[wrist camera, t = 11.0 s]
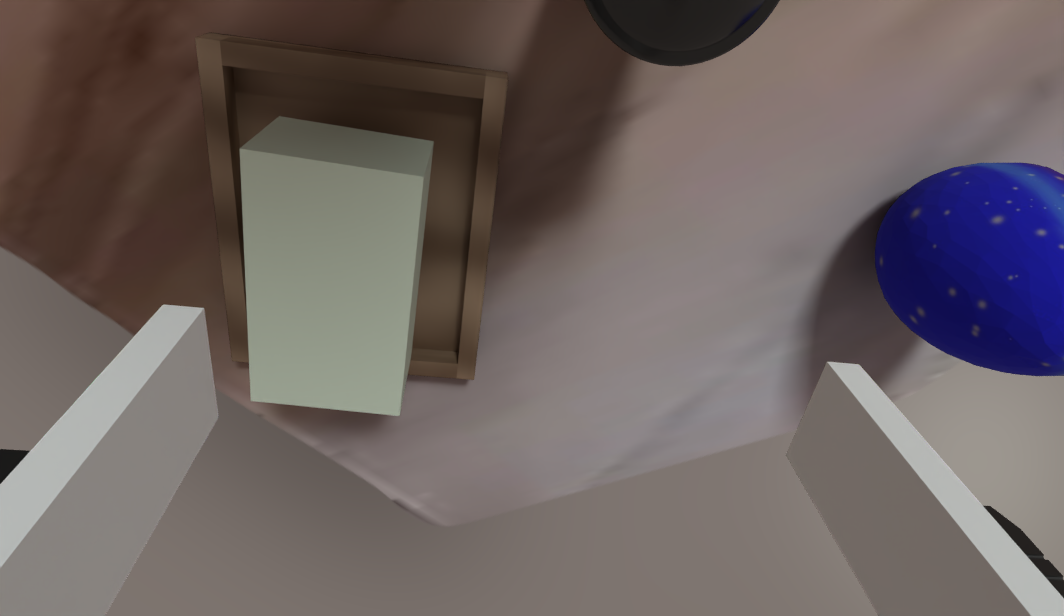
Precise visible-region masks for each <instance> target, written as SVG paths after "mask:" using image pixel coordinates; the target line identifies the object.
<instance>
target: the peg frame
mask: <svg viewBox="0 0 1064 616" xmlns="http://www.w3.org/2000/svg"><path fill="white" fill-rule="evenodd" d="M195 42H196V50H197V59H198V68H199V77H200V85H201V94H202V103H203V112H204V120H205V129H206V138H207V147H208V155H209V164H210V173H211V182H212V190H213V199H214V208H215V217H216V225H217V234H218V243H219V252H220V261H221V269H222V278H223V287H224V296H225V304H226V313H227V322H228V331H229V339H230V348H231V357H232V361H236V362H249V350H248V327H247V305H246V282H245V260H244V237H243V215H242V192H241V170H240V148H241V147H242V146H243V145H244V144H246V143H247V142H248V141H249V140H251V139H252V138H253V137H254V136H255V135H257V134H258V133H259V132H260V131H262V130H263V129H264V128H265V127H266V126H268V125H269V124H270V123H271V122H273V121H274V120H275V119H276V118H277V117H279V116H281V117H288V118H294V119H300V120H306V121H312V122H318V123H324V124H331V125H337V126H343V127H349V128H355V129H361V130H368V131H374V132H380V133H386V134H392V135H398V136H405V137H411V138H417V139H423V140H429V141H434V144H433V154H432V163H431V173H430V182H429V192H428V201H427V211H426V220H425V230H424V239H423V249H422V258H421V268H420V277H419V287H418V296H417V306H416V315H415V325H414V334H413V344H412V353H411V360H410V365H409V370H408V375H418V376H431V377H444V378H457V379H470V380H474V375H475V366H476V357H477V349H478V340H479V331H480V322H481V313H482V305H483V296H484V287H485V278H486V269H487V261H488V252H489V243H490V234H491V225H492V216H493V208H494V199H495V190H496V181H497V172H498V164H499V155H500V146H501V137H502V128H503V120H504V111H505V102H506V93H507V84H508V75H507V72H500V71H492V70H485V69H477V68H470V67H463V66H455V65H448V64H440V63H433V62H425V61H418V60H410V59H403V58H396V57H388V56H381V55H373V54H366V53H358V52H351V51H343V50H336V49H329V48H321V47H314V46H306V45H299V44H291V43H284V42H277V41H269V40H262V39H254V38H247V37H239V36H232V35H224V34H217V33H207V34H204V35H201V36H198V37H195Z"/></svg>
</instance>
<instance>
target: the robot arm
mask: <svg viewBox="0 0 1064 616" xmlns="http://www.w3.org/2000/svg"><path fill="white" fill-rule="evenodd" d="M218 417H219V416H218V408H217V401H216V393H215V386H214V378H213V371H212V363H211V356H210V348H209V341H208V333H207V326H206V318H205V311H204V308H198V307H186V306H175V305H162V306H161V307H160V308H159V310H158V311H157V312H156V313H155V314H154V315H153V316H152V317H151V318H150V319H149V321H148V322H147V323H146V324H145V325H144V326H143V327H142V328H141V329H140V331H139V332H138V333H137V334H136V335H135V336H134V337H133V338H132V339H131V341H130V342H129V343H128V344H127V345H126V346H125V347H124V348H123V349H122V351H121V352H120V353H119V354H118V355H117V356H116V357H115V358H114V359H113V360H112V362H111V363H110V364H109V365H108V366H107V367H106V368H105V369H104V371H102V373H101V374H100V375H99V376H98V377H97V378H96V379H95V380H94V381H93V382H92V384H91V385H90V386H89V387H88V388H87V389H86V390H85V391H84V392H83V394H82V395H81V396H80V397H79V398H78V399H77V400H76V401H75V402H74V403H73V405H72V406H71V407H70V408H69V409H68V410H67V411H66V412H65V413H64V415H63V416H62V417H61V418H60V419H59V420H58V421H57V422H56V424H54V426H53V427H52V428H51V429H50V430H49V431H48V432H47V433H46V435H44V437H43V438H42V439H41V440H40V441H39V442H38V443H37V445H35V447H34V448H33V449H32V450H31V451H23V450H6V449H1V450H0V616H105V615H106V613H107V611H108V609H109V608H110V606H111V604H112V602H113V601H114V599H115V597H116V595H117V594H118V592H119V590H120V588H121V587H122V585H123V583H124V581H125V580H126V578H127V576H128V574H129V573H130V571H131V569H132V568H133V566H134V564H135V562H136V561H137V559H138V557H139V555H140V553H141V552H142V550H143V548H144V546H145V545H146V543H147V541H148V539H149V538H150V536H151V534H152V533H153V531H154V529H155V527H156V526H157V524H158V522H159V520H160V518H161V517H162V515H163V513H164V512H165V510H166V508H167V506H168V505H169V503H170V501H171V499H172V498H173V496H174V494H175V492H176V491H177V489H178V487H179V485H180V484H181V482H182V480H183V479H184V477H185V475H186V473H187V472H188V470H189V468H190V466H191V465H192V463H193V461H194V459H195V457H196V456H197V454H198V452H199V451H200V449H201V447H202V445H203V444H204V442H205V440H206V438H207V437H208V435H209V433H210V431H211V430H212V428H213V426H214V424H215V423H216V421H217V419H218ZM786 456H787V458H788V460H789V461H790V463H791V465H792V467H793V469H794V470H795V472H796V474H797V476H798V477H799V479H800V481H801V483H802V484H803V486H804V487H805V489H806V491H807V493H808V495H809V496H810V498H811V500H812V502H813V503H814V505H815V507H816V509H817V510H818V512H819V514H820V515H821V517H822V519H823V521H824V522H825V524H826V526H827V528H828V529H829V531H830V533H831V534H832V536H833V538H834V539H835V542H836V543H837V545H838V547H839V548H840V550H841V552H842V554H843V555H844V557H845V558H846V561H847V562H848V564H849V566H850V567H851V569H852V571H853V573H854V574H855V576H856V578H857V579H858V581H859V583H860V585H861V586H862V588H863V590H864V592H865V594H866V595H867V597H868V599H869V600H870V602H871V604H872V606H873V607H874V609H875V611H876V613H877V614H878V616H1064V580H1063V575H1062V574H1061V573H1060V572H1059V571H1058V570H1057V569H1056V568H1055V567H1054V566H1053V564H1051V562H1050V561H1049V560H1045V559H1044V558H1043V556H1044V555H1043V553H1042V552H1041V551H1040V550H1039V549H1038V548H1037V547H1036V546H1035V545H1034V543H1033V542H1032V541H1031V540H1030V539H1029V538H1028V537H1027V536H1026V535H1025V533H1024V532H1023V531H1021V529H1020V528H1018V527H1017V526H1015V525H1014V524H1013V523H1012V522H1011V521H1009V520H1008V519H1007V518H1005V517H1004V516H1003V515H1001V514H1000V513H999V512H997V511H996V510H995V509H993V508H992V507H991V506H983V505H982V504H981V503H980V502H979V501H978V500H977V499H976V497H975V496H974V495H973V494H972V493H971V492H970V491H969V489H968V488H967V487H966V486H965V485H964V484H963V483H962V482H961V480H960V479H959V478H958V477H957V476H956V475H955V473H954V472H953V471H952V470H951V469H950V468H949V467H948V465H947V464H946V463H945V462H944V461H943V460H942V459H941V457H940V456H939V455H938V454H937V453H936V452H935V451H934V449H933V448H932V447H931V446H930V445H929V444H928V443H927V441H926V440H925V439H924V438H923V437H922V436H921V435H920V433H919V432H918V431H917V430H916V429H915V428H914V427H913V425H912V424H911V423H910V422H909V421H908V420H907V419H906V417H905V416H904V415H903V414H902V413H901V412H900V411H899V409H898V408H897V407H896V406H895V405H894V404H893V403H892V401H891V400H890V399H889V398H888V397H887V396H886V395H885V393H884V392H883V391H882V390H881V389H880V388H879V387H878V385H877V384H876V383H875V382H874V381H873V380H872V379H871V377H870V376H869V375H868V374H867V373H866V372H865V371H864V369H863V368H862V367H861V366H860V365H859V364H849V363H837V362H827V363H826V365H825V367H824V369H823V372H822V374H821V376H820V378H819V381H818V383H817V385H816V387H815V390H814V392H813V394H812V397H811V399H810V401H809V403H808V406H807V408H806V410H805V412H804V415H803V417H802V419H801V422H800V424H799V426H798V428H797V431H796V433H795V435H794V438H793V440H792V442H791V444H790V446H789V449H788V451H787V454H786Z"/></svg>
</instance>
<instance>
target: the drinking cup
mask: <svg viewBox="0 0 1064 616" xmlns="http://www.w3.org/2000/svg"><path fill="white" fill-rule="evenodd" d="M584 1H585V4H586V6H587V8H588V10H589V12H590V14H591V16H592V18H593V19H594V21H595V22H596V23H597V25H598V26H599V28H600V29H601V30H602V31H603V33H604V34H605V35H606V36H607V37H608V38H609V39H610V40H611V41H612V42H613V43H614V44H616V45H617V46H618V47H620V48H621V49H622V50H624V51H625V52H627V53H629V54H630V55H632V56H634V57H636V58H638V59H641V60H643V61H647V62H649V63H653V64H658V65H665V66H685V65H693V64H698V63H702V62H705V61H708V60H711V59H714V58H716V57H718V56H721V55H723V54H725V53H726V52H728V51H730V50H732V49H733V48H735V47H736V46H738V45H739V44H741V43H742V42H743V41H745V40H746V39H747V38H748V37H750V36H751V35H752V34H753V33H754V32H755V31H756V30H757V29H758V28H759V27H760V26H761V25H762V24H763V23H764V22H765V20H766V19H767V18H768V17H769V15H770V14H771V13H772V11H773V10H774V8H775V7H776V5H777V4H778V2H779V1H780V0H584Z"/></svg>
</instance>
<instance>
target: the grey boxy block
mask: <svg viewBox="0 0 1064 616" xmlns="http://www.w3.org/2000/svg"><path fill="white" fill-rule="evenodd" d="M433 144H434V141H429V140H423V139H417V138H411V137H405V136H398V135H392V134H386V133H380V132H374V131H368V130H361V129H355V128H349V127H343V126H337V125H331V124H324V123H318V122H312V121H306V120H300V119H294V118H288V117H281V116H279V117H277V118H276V119H275V120H274V121H273V122H271V123H270V124H269V125H268V126H266V127H265V128H264V129H263V130H262V131H260V132H259V133H258V134H257V135H255V136H254V137H253V138H252V139H251V140H249V141H248V142H247V143H246V144H244V145H243V146H242V147H241V148H240V170H241V192H242V215H243V237H244V260H245V282H246V305H247V327H248V350H249V372H250V395H251V401H257V402H267V403H277V404H286V405H296V406H306V407H316V408H325V409H335V410H345V411H355V412H364V413H374V414H384V415H394V416H400V412H401V407H402V401H403V396H404V391H405V386H406V380H407V375H408V370H409V365H410V360H411V353H412V344H413V334H414V325H415V315H416V306H417V296H418V287H419V277H420V268H421V258H422V249H423V239H424V230H425V220H426V211H427V201H428V192H429V182H430V173H431V163H432V154H433Z"/></svg>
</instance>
